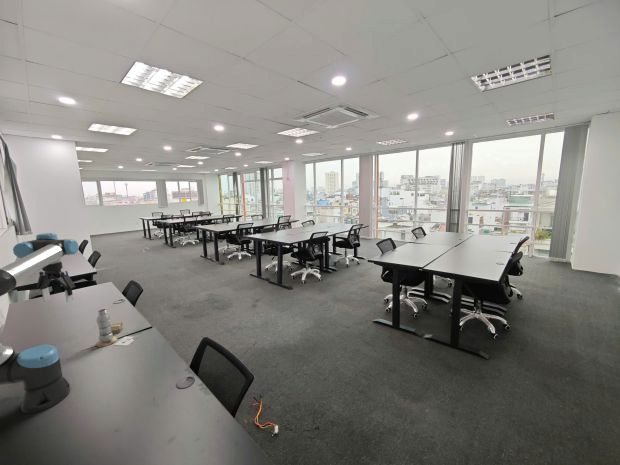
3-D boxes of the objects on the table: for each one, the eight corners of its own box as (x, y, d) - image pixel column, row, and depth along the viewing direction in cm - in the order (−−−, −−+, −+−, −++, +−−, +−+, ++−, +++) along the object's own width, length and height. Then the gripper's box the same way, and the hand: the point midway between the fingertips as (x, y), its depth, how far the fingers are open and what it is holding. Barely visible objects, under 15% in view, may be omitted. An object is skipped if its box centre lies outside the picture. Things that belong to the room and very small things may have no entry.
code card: (127, 345, 150) (127, 345, 150) (113, 345, 151) (113, 344, 151) (138, 337, 159) (138, 337, 159) (125, 336, 160) (125, 336, 160)
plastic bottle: (108, 344, 151) (103, 313, 148) (96, 344, 151) (92, 313, 148) (116, 338, 157) (112, 308, 154) (105, 338, 157) (101, 307, 154)
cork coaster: (107, 347, 149) (107, 346, 149) (91, 346, 150) (91, 345, 150) (121, 337, 159) (121, 336, 159) (106, 337, 160) (106, 336, 160)
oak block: (120, 332, 165) (119, 325, 164) (111, 333, 163) (110, 326, 163) (123, 328, 169) (122, 321, 169) (115, 329, 168) (114, 322, 167)
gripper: (80, 260, 135) (86, 298, 139) (38, 260, 138) (45, 297, 141) (65, 264, 128) (72, 304, 131) (22, 264, 131) (29, 302, 134)
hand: (58, 300), depth 136 cm, fingers open, 13 cm apart
